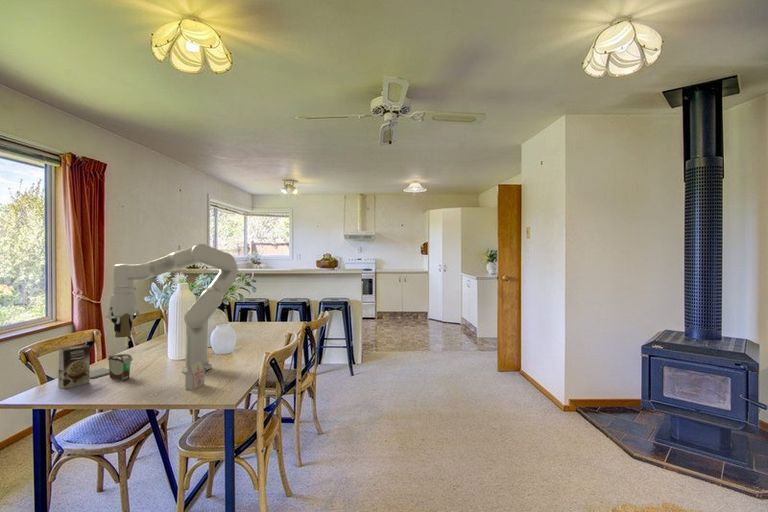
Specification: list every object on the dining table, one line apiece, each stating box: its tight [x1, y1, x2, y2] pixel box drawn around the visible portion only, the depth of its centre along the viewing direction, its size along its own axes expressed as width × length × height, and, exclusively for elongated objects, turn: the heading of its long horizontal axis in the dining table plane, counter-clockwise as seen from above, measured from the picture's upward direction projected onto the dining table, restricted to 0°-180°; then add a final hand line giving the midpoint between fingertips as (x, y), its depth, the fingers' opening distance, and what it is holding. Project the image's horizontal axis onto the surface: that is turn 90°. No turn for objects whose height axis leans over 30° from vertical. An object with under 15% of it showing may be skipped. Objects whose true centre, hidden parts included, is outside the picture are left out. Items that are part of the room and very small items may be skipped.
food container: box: [107, 353, 133, 382], centre depth 165 cm, size 12×6×10 cm, turn 65°
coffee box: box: [57, 344, 91, 390], centre depth 157 cm, size 9×6×16 cm
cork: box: [114, 313, 132, 338], centre depth 165 cm, size 6×6×11 cm
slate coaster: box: [89, 367, 110, 380], centre depth 170 cm, size 10×10×1 cm
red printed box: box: [184, 361, 206, 391], centre depth 155 cm, size 4×7×10 cm, turn 167°
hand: (123, 330), depth 165 cm, fingers closed on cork, 4 cm apart
